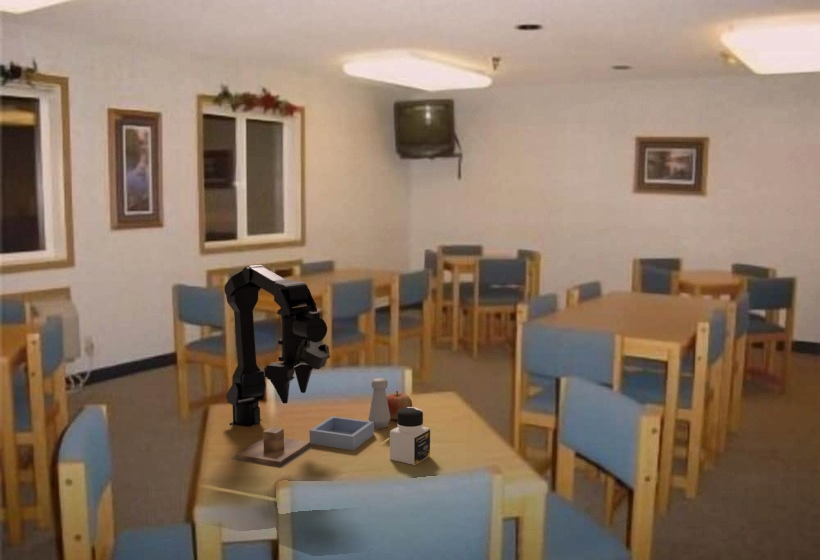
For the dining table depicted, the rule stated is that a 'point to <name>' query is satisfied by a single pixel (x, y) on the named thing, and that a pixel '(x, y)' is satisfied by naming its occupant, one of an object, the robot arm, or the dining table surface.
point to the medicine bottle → (410, 437)
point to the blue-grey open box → (342, 432)
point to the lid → (273, 448)
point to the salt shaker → (379, 404)
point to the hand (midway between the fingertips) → (294, 397)
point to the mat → (285, 462)
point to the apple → (397, 403)
